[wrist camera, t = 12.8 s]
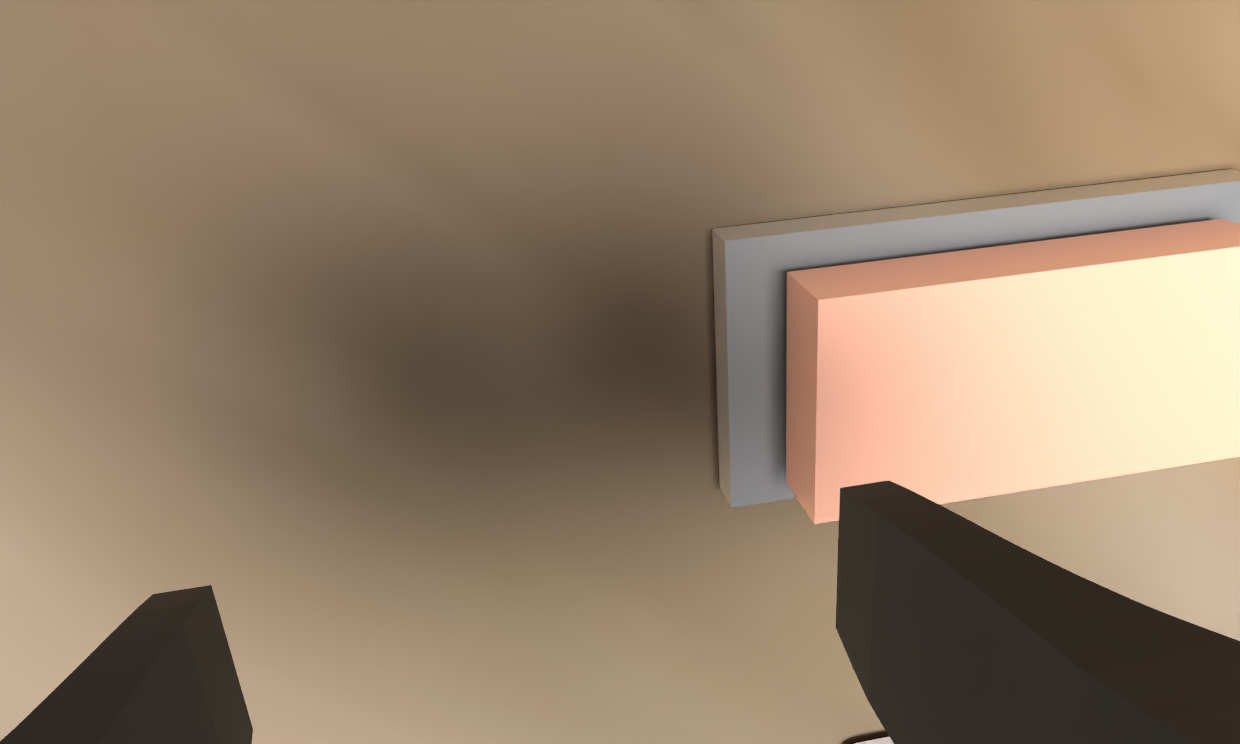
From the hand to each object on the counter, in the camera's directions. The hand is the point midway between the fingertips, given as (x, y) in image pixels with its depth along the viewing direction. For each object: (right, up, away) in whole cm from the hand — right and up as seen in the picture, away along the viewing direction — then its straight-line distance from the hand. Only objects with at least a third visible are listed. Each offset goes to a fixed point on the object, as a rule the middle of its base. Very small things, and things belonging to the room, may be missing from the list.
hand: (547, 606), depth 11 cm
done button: (+9, +3, +10) cm, 14 cm away
